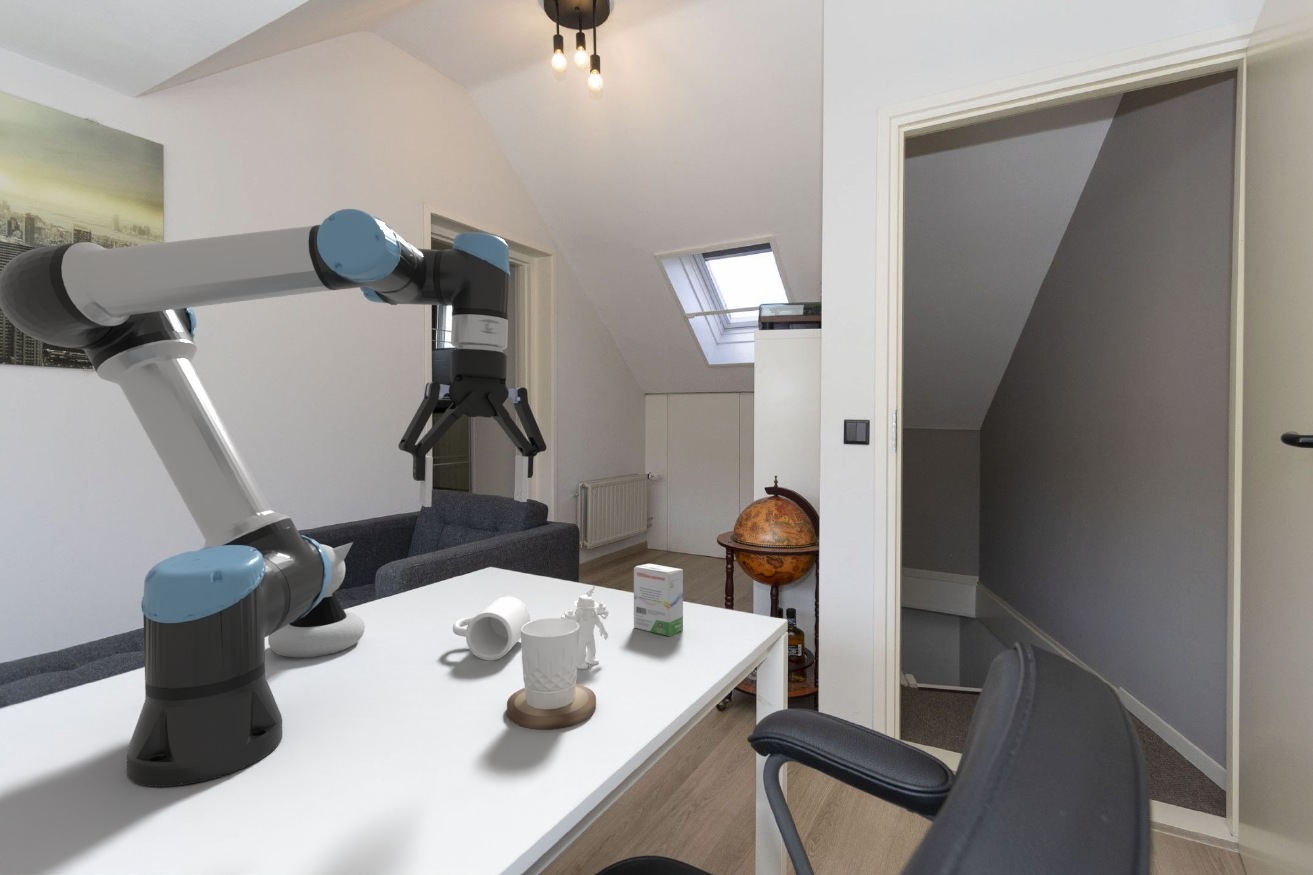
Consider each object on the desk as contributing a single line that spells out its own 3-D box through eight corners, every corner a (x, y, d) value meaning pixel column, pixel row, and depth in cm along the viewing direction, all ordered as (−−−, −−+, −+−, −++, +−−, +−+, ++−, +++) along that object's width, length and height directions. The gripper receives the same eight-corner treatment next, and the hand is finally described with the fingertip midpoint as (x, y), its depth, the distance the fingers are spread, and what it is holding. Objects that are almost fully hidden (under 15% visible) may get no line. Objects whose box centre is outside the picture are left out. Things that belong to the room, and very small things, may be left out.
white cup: (591, 698, 89) (591, 626, 88) (544, 718, 83) (544, 640, 83) (555, 682, 94) (555, 614, 94) (509, 699, 88) (509, 627, 88)
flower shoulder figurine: (598, 653, 109) (598, 583, 109) (614, 659, 106) (614, 587, 106) (556, 668, 103) (556, 593, 102) (572, 675, 100) (572, 598, 100)
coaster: (531, 738, 80) (531, 728, 80) (492, 704, 90) (492, 695, 90) (612, 712, 87) (612, 703, 87) (568, 683, 97) (568, 674, 97)
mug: (530, 641, 116) (530, 596, 115) (512, 661, 106) (512, 613, 105) (465, 638, 117) (465, 594, 117) (441, 658, 107) (441, 611, 107)
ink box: (684, 630, 122) (684, 567, 121) (668, 637, 118) (669, 572, 117) (648, 621, 127) (648, 561, 126) (632, 628, 123) (632, 566, 122)
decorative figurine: (370, 629, 122) (369, 523, 121) (357, 657, 107) (356, 537, 107) (282, 636, 117) (280, 526, 117) (256, 666, 103) (254, 541, 103)
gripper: (392, 338, 79) (387, 511, 80) (572, 356, 94) (567, 502, 94) (377, 343, 85) (373, 503, 86) (548, 359, 100) (544, 496, 100)
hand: (475, 503), depth 90 cm, fingers open, 13 cm apart
